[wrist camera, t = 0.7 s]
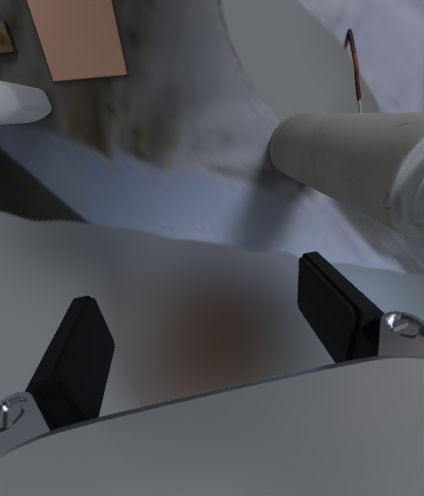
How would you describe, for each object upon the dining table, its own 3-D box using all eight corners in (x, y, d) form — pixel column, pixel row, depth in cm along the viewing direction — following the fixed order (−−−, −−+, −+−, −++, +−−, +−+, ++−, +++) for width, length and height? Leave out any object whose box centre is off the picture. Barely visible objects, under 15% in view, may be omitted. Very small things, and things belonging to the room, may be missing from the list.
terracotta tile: (23, -16, 25) (20, -19, 24) (107, -21, 26) (106, -24, 25) (55, 81, 29) (53, 81, 28) (127, 74, 29) (126, 74, 29)
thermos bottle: (311, 100, 33) (702, 61, 9) (330, 154, 37) (644, 230, 13) (259, 136, 35) (480, 189, 10) (282, 185, 38) (486, 310, 14)
